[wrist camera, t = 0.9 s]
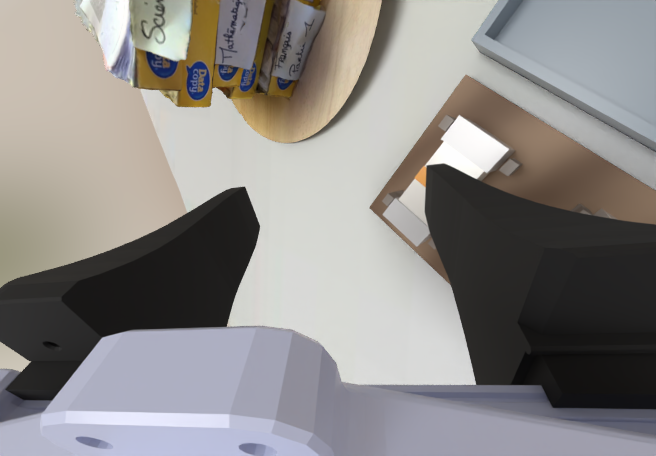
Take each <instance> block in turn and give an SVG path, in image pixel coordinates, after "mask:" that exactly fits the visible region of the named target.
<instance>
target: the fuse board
mask: <svg viewBox="0 0 656 456" xmlns="http://www.w3.org/2000/svg"><path fill="white" fill-rule="evenodd" d="M459 115H460V116H462V117H464V118H467V119H469V120H471V121H473V122H475V123H476V124H477V125H479V126H480V127H482V128H483V129H485V130H486V131H488V132H489V133H491V134H492V135H494V136H495V137H497V138H498V139H500V140H501V141H503V142H504V143H506V144H507V145H509V146H510V147H512V148H513V149H514V150H516V151H515V152H514V153H513V154H512V155H511V156H510V157H509V158H508V159H507V160H506V161H505V162H504V163H503V164H502V165H501V166H500V167H499V168H498V169H497V170H496V171H493V172H490V173H489V174H488V175H487V176H486V177H485V178H484V179H483V180H482V182H484V183H486V184H488V185H490V186H493V187H495V188H497V189H500V190H502V191H505V192H507V193H510V194H513V195H515V196H518V197H521V198H524V199H528V200H531V201H534V202H537V203H541V204H544V205H548V206H552V207H556V208H560V209H564V210H569V211H573V212H578V213H583V214H588V215H593V214H595V213H596V212H597V211H599V210H600V209H601V208H602V209H603V210H605V211H606V212H608V213H609V214H611V215H612V216H614V217H615V218H616V219H618V220H623V221H630V222H638V223H647V224H656V191H655V190H654V189H652V188H650V187H649V186H647V185H645V184H644V183H642V182H640V181H639V180H637V179H636V178H634V177H632V176H631V175H629V174H627V173H626V172H624V171H623V170H621V169H619V168H618V167H616V166H614V165H613V164H611V163H609V162H608V161H606V160H605V159H603V158H601V157H600V156H598V155H596V154H595V153H593V152H592V151H590V150H588V149H587V148H585V147H583V146H582V145H580V144H578V143H577V142H575V141H574V140H572V139H570V138H569V137H567V136H565V135H564V134H562V133H561V132H559V131H557V130H556V129H554V128H552V127H551V126H549V125H547V124H546V123H544V122H543V121H541V120H539V119H538V118H536V117H534V116H533V115H531V114H530V113H528V112H526V111H525V110H523V109H521V108H520V107H518V106H517V105H515V104H513V103H512V102H510V101H508V100H507V99H505V98H503V97H502V96H500V95H499V94H497V93H495V92H494V91H492V90H490V89H489V88H487V87H486V86H484V85H482V84H481V83H479V82H477V81H476V80H474V79H472V78H471V77H469V76H468V75H465V76H464V78H463V79H462V81H461V82H460V83H459V85H458V86H457V87H456V89H455V90H454V92H453V93H452V94H451V96H450V97H449V98H448V100H447V101H446V103H445V104H444V105H443V107H442V108H441V110H440V111H439V112H438V114H437V115H436V116H435V118H434V119H433V121H432V122H431V123H430V125H429V126H428V127H427V129H426V130H425V132H424V133H423V134H422V136H421V137H420V138H419V140H418V141H417V143H416V144H415V145H414V147H413V148H412V150H411V151H410V152H409V154H408V155H407V156H406V158H405V159H404V161H403V162H402V163H401V165H400V166H399V167H398V169H397V170H396V172H395V173H394V174H393V176H392V177H391V179H390V180H389V181H388V183H387V184H386V185H385V187H384V188H383V190H382V191H381V192H380V194H379V195H378V196H377V198H376V199H375V201H374V202H373V203H372V205H371V206H370V209H371V210H372V211H373V212H374V213H375V214H377V215H378V216H379V217H380V218H381V219H382V220H383V221H384V222H385V223H386V224H387V225H388V226H389V227H390V228H391V229H392V230H393V231H394V232H395V233H397V234H398V235H399V236H400V237H401V238H402V239H403V240H404V241H405V242H406V243H407V244H408V245H409V246H410V247H411V248H412V249H413V250H414V251H415V252H417V253H418V254H419V255H420V256H421V257H422V258H423V259H424V260H425V261H426V262H427V263H428V264H429V265H430V266H431V267H432V268H433V269H434V270H435V271H437V272H438V273H439V274H440V275H441V276H442V277H443V278H444V279H445V280H446V281H447V282H448V283H449V284H450V281H449V278H448V276H447V273H446V271H445V268H444V266H443V264H442V261H441V259H440V256H439V254H438V252H437V249H436V247H435V244H434V242H433V239H432V237H431V238H430V239H428V240H427V241H425V242H424V243H422V244H421V245H419V246H418V247H416V246H415V245H414V244H413V243H412V242H411V241H410V240H409V239H408V238H407V237H406V236H405V235H404V234H403V233H401V232H400V231H399V230H398V229H397V228H396V227H395V226H394V225H393V224H392V223H391V222H390V221H389V220H388V219H387V218H386V217H384V216H383V215H382V214H383V213H384V212H385V211H386V209H387V208H388V207H389V205H390V204H391V203H392V202H393V200H394V199H395V198H398V197H401V196H402V194H403V193H404V192H405V191H406V189H407V188H408V187H409V185H410V184H411V183H412V182H413V180H414V179H415V176H416V175H417V174H418V172H419V171H420V170H421V169H422V167H423V166H425V165H426V164H427V162H428V161H429V160H430V159H431V157H432V156H433V155H434V154H435V152H436V151H437V150H438V148H439V147H440V146H441V145H442V143H443V142H444V141H443V140H441V138H442V137H443V136H444V134H445V133H446V132H447V130H448V129H449V128H450V126H451V125H452V124H453V123H454V121H455V120H456V119H457V117H458V116H459ZM450 285H451V284H450Z"/></svg>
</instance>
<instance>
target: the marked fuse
mask: <svg viewBox="0 0 656 456" xmlns="http://www.w3.org/2000/svg"><path fill="white" fill-rule="evenodd" d="M441 140H443V141H444V142H443V143H442V145H441V146H440V147H439V148H438V150H437V151H436V152H435V154H434V155H433V156H432V157H431V159H430V160H429V161H428V162H427V164H426V165H433V164H442V163H444V164H447V165H450V166H452V167H454V168H456V169H458V170H460V171H462V172H464V173H465V174H467V175H469V176H471V177H473V178H475V179H477V180H480V181H482V180H483V179H484V178H485V177H486V176H487V175H488V174H489V173H490V172H493V171H496V170H497V169H498V168H499V167H500V166H501V165H502V164H503V163H504V162H505V161H506V160H507V159H508V158H509V157H510V156H511V155H512V154H513V153H514V152H515V151H516V150H514V149H513V148H512V147H510V146H509V145H507V144H506V143H504V142H503V141H501V140H500V139H498V138H497V137H495V136H494V135H492V134H491V133H489V132H488V131H486V130H485V129H483V128H482V127H480V126H479V125H477V124H476V123H475V122H473V121H471V120H469V119H467V118H464V117H462V116H460V115H459V116H458V117H457V119H456V120H455V121H454V123H453V124H452V125H451V126H450V128H449V129H448V130H447V132H446V133H445V134H444V136H443V137H442V138H441ZM426 165H425V166H423V167H422V169H421V170H420V171H419V172H418V174H417V175H416V176H415V179H414V180H413V182H412V183H411V184H410V185H409V187H408V188H407V189H406V191H405V192H404V193H403V194H402V196H401V197H398V198H395V199H394V200H393V202H392V203H391V204H390V205H389V207H388V208H387V209H386V211H385V212H384V213H383V214H382V215H383V216H384V217H386V218H387V219H388V220H389V221H390V222H391V223H392V224H393V225H394V226H395V227H396V228H397V229H398V230H399V231H400V232H401V233H403V234H404V235H405V236H406V237H407V238H408V239H409V240H410V241H411V242H412V243H413V244H414V245H415V246H416V247H418V246H419V245H421V244H422V243H424V242H425V241H427V240H428V239H430V238H431V234H430V232H429V228H428V224H427V220H426V215H425V189H426Z"/></svg>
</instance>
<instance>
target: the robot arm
mask: <svg viewBox="0 0 656 456" xmlns="http://www.w3.org/2000/svg"><path fill="white" fill-rule="evenodd" d="M425 215H426V220H427V224H428V228H429V232H430V234H431V237H432V239H433V242H434V244H435V247H436V249H437V252H438V254H439V256H440V259H441V261H442V264H443V266H444V268H445V271H446V273H447V276H448V278H449V281H450V284H451V287H452V290H453V293H454V297H455V301H456V304H457V308H458V311H459V315H460V319H461V323H462V327H463V330H464V334H465V338H466V342H467V347H468V351H469V355H470V359H471V363H472V367H473V372H474V376H475V381H476V385H357V384H351V383H345V382H342V381H341V378H340V375H339V371H338V368H337V364H336V362H335V361H334V360H333V359H332V357H331V356H330V355H329V354H328V352H327V351H326V350H325V349H324V347H323V346H322V345H321V344H320V343H319V342H317V341H315V340H313V339H311V338H309V337H307V336H305V335H302V334H300V333H298V332H296V331H294V330H290V329H283V328H275V327H267V326H239V327H227V323H228V319H229V316H230V312H231V309H232V305H233V302H234V298H235V295H236V293H237V290H238V287H239V285H240V283H241V280H242V278H243V276H244V273H245V271H246V268H247V266H248V264H249V261H250V259H251V256H252V254H253V252H254V249H255V246H256V243H257V239H258V234H259V230H260V225H259V222H258V220H257V217H256V214H255V212H254V209H253V206H252V204H251V201H250V199H249V196H248V193H247V191H246V188H245V187H238V188H231V189H228V190H226V191H224V192H222V193H220V194H218V195H217V196H215V197H213V198H211V199H210V200H208V201H207V202H205V203H203V204H202V205H200V206H198V207H197V208H195V209H193V210H192V211H190V212H188V213H187V214H185V215H183V216H182V217H180V218H178V219H177V220H175V221H173V222H171V223H169V224H168V225H166V226H164V227H162V228H160V229H158V230H156V231H154V232H152V233H150V234H148V235H145V236H143V237H141V238H139V239H137V240H134V241H132V242H129V243H127V244H124V245H122V246H120V247H117V248H115V249H112V250H110V251H107V252H104V253H101V254H98V255H96V256H93V257H90V258H87V259H84V260H81V261H77V262H74V263H71V264H68V265H64V266H61V267H57V268H54V269H50V270H46V271H42V272H39V273H35V274H32V275H28V276H24V277H20V278H17V279H14V280H12V281H10V282H8V283H6V284H5V285H3V286H2V287H1V288H0V342H2V343H3V344H5V345H6V346H8V347H9V348H11V349H12V350H14V351H15V352H17V353H18V354H20V355H21V356H23V357H24V358H26V359H27V360H29V361H31V363H29V365H28V366H27V367H26V368H25V369H24V370H23V371H22V372H19V371H16V370H12V369H0V456H656V224H647V223H638V222H630V221H623V220H617V219H611V218H605V217H599V216H593V215H588V214H583V213H578V212H573V211H569V210H564V209H560V208H556V207H552V206H548V205H544V204H541V203H537V202H534V201H531V200H528V199H524V198H521V197H518V196H515V195H513V194H510V193H507V192H505V191H502V190H500V189H497V188H495V187H493V186H490V185H488V184H486V183H484V182H482V181H480V180H477V179H475V178H473V177H471V176H469V175H467V174H465V173H464V172H462V171H460V170H458V169H456V168H454V167H452V166H450V165H447V164H444V163H442V164H433V165H426V189H425Z"/></svg>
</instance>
